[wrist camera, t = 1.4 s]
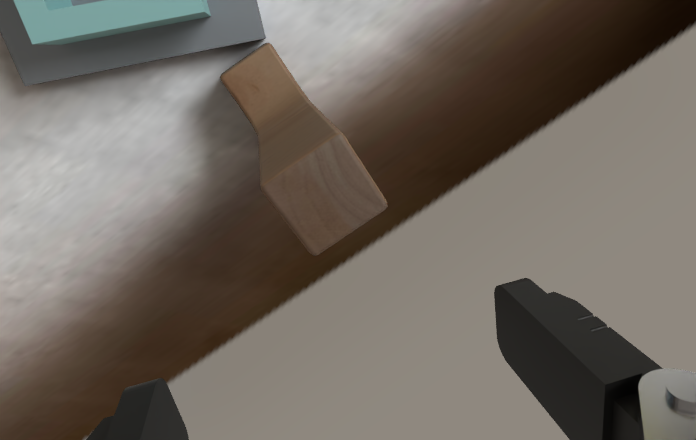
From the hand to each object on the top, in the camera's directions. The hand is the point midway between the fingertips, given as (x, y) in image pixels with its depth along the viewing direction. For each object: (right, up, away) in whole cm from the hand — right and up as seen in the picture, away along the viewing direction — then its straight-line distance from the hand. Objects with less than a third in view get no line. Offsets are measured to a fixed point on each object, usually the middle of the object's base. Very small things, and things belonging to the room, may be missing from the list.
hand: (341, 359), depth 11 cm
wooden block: (-4, +11, +18) cm, 21 cm away
